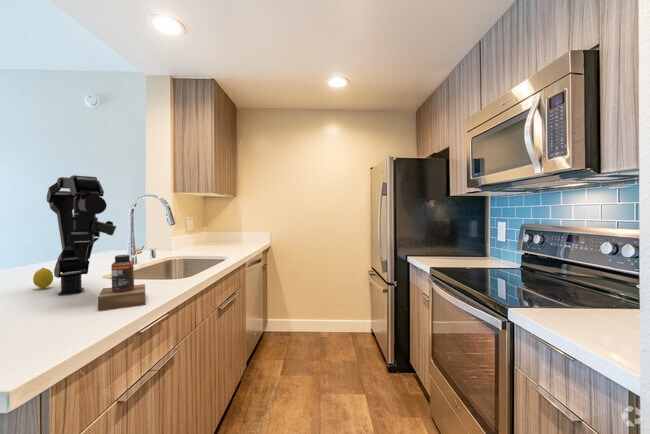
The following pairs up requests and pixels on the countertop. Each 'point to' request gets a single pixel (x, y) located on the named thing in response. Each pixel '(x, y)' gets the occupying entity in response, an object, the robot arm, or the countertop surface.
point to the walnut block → (121, 298)
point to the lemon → (43, 278)
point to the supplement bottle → (122, 274)
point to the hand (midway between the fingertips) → (85, 260)
